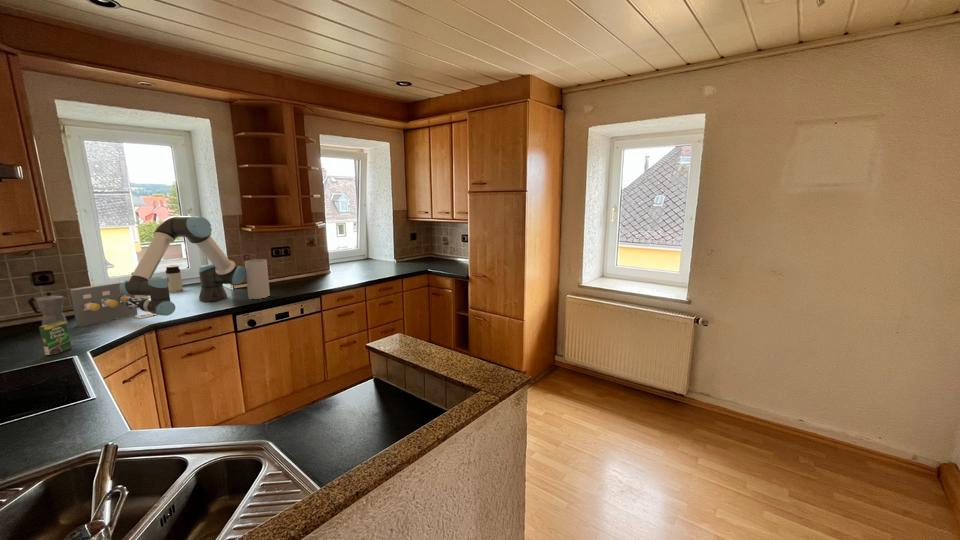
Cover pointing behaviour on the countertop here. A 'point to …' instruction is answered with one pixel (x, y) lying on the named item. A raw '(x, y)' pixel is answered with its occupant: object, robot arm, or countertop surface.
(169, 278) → the travel mug
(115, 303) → the middle button
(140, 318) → the card
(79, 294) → the button panel
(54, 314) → the coffeepot
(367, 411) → the countertop surface
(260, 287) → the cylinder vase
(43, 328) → the coffee box
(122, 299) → the button
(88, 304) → the button
